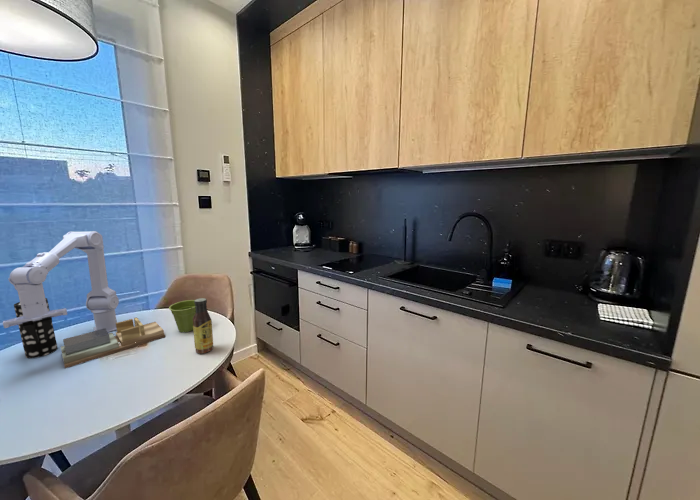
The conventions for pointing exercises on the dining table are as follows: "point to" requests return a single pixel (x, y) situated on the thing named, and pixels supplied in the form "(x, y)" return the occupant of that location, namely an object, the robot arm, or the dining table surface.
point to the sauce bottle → (202, 327)
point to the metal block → (86, 341)
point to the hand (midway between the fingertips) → (41, 340)
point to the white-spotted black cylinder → (43, 345)
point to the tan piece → (123, 335)
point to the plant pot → (184, 314)
